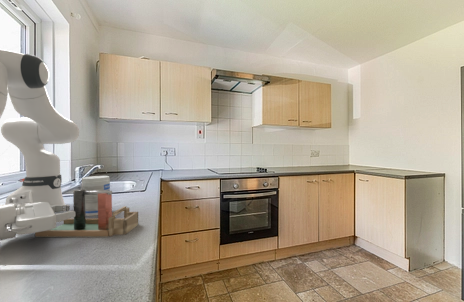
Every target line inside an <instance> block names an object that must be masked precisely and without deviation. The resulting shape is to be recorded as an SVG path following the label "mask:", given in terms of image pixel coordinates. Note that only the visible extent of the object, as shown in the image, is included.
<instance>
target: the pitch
mask: <svg viewBox="0 0 464 302" xmlns="http://www.w3.org/2000/svg"><path fill="white" fill-rule="evenodd" d="M115 219H124V217H122V218H116V217H115ZM34 235H35V236H34V237H36V238H37V237H38V238H39V237H40V238H44V237H46V238H48V237H52V238H53V237H55V238H56V237H57V238H60V237H64V238H65V237H66V238H68V237H69V238H71V237H72V238H73V237H75V238H76V237H77V238H78V237H79V238H83V237H84V238H85V237H87V238H88V237H89V238H94V237H96V238H97V237H100V238H104V237H107V238H108V237H110V236H109V228H108V229H107V230H98V218H86V227H85V228H83V229H79V230H74V218H69V219H66V220H64V221H63V223H62V224H60V225H57V226H56V228H54V229H51V230H47V231H42V232H36V233H34Z"/></svg>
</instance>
